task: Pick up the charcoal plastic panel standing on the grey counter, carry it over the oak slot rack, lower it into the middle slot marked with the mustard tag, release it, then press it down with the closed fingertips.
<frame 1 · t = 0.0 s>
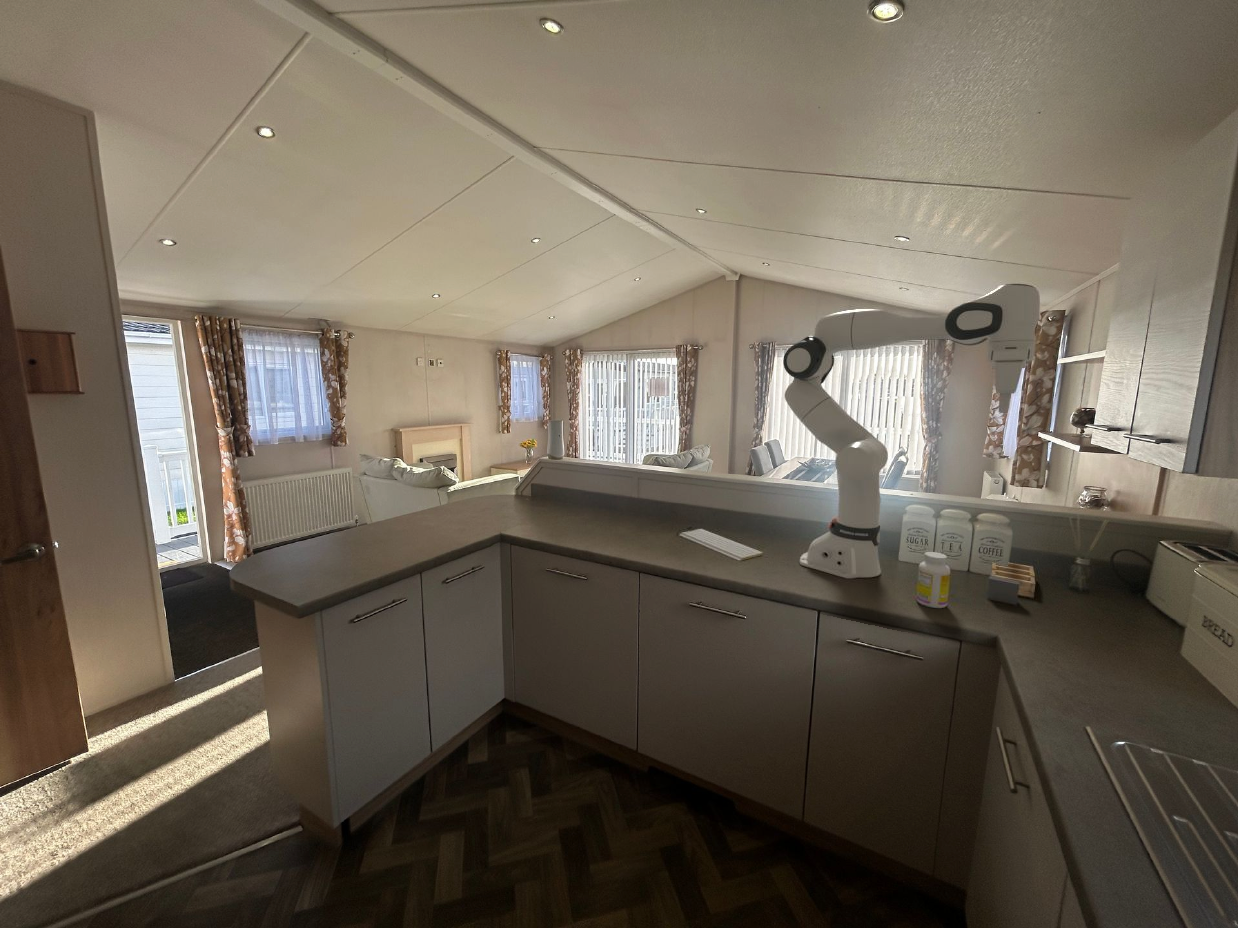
hand: (1003, 411, 119), 48 cm above the worktop, fingers open, 8 cm apart
white keyboard: (716, 547, 169), on the worktop
panel: (1001, 600, 125), on the worktop
supplement bottle: (930, 603, 123), on the worktop
rack: (1011, 582, 135), on the worktop
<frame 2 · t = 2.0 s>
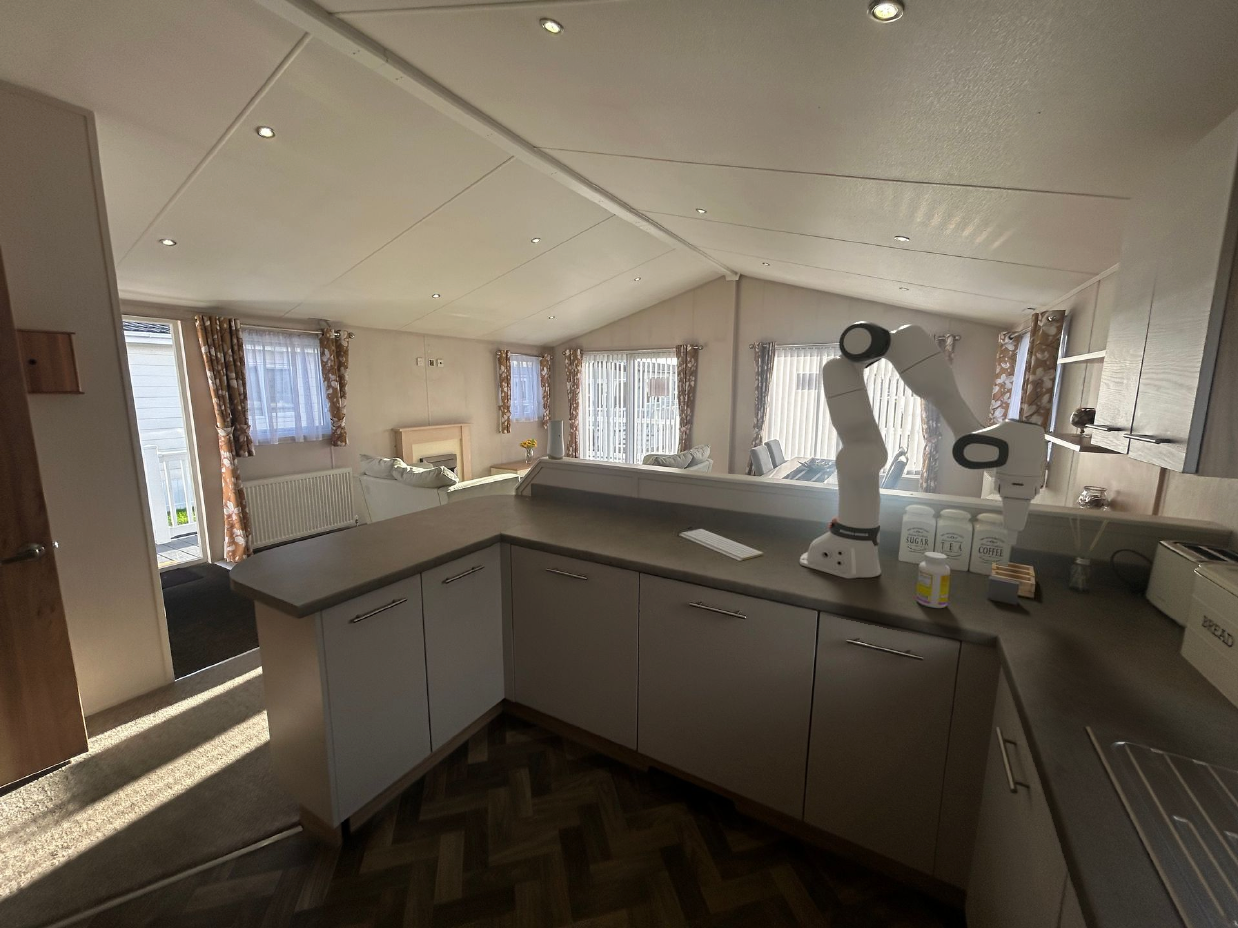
hand: (1011, 539, 122), 16 cm above the worktop, fingers open, 8 cm apart
nothing on the worktop moved.
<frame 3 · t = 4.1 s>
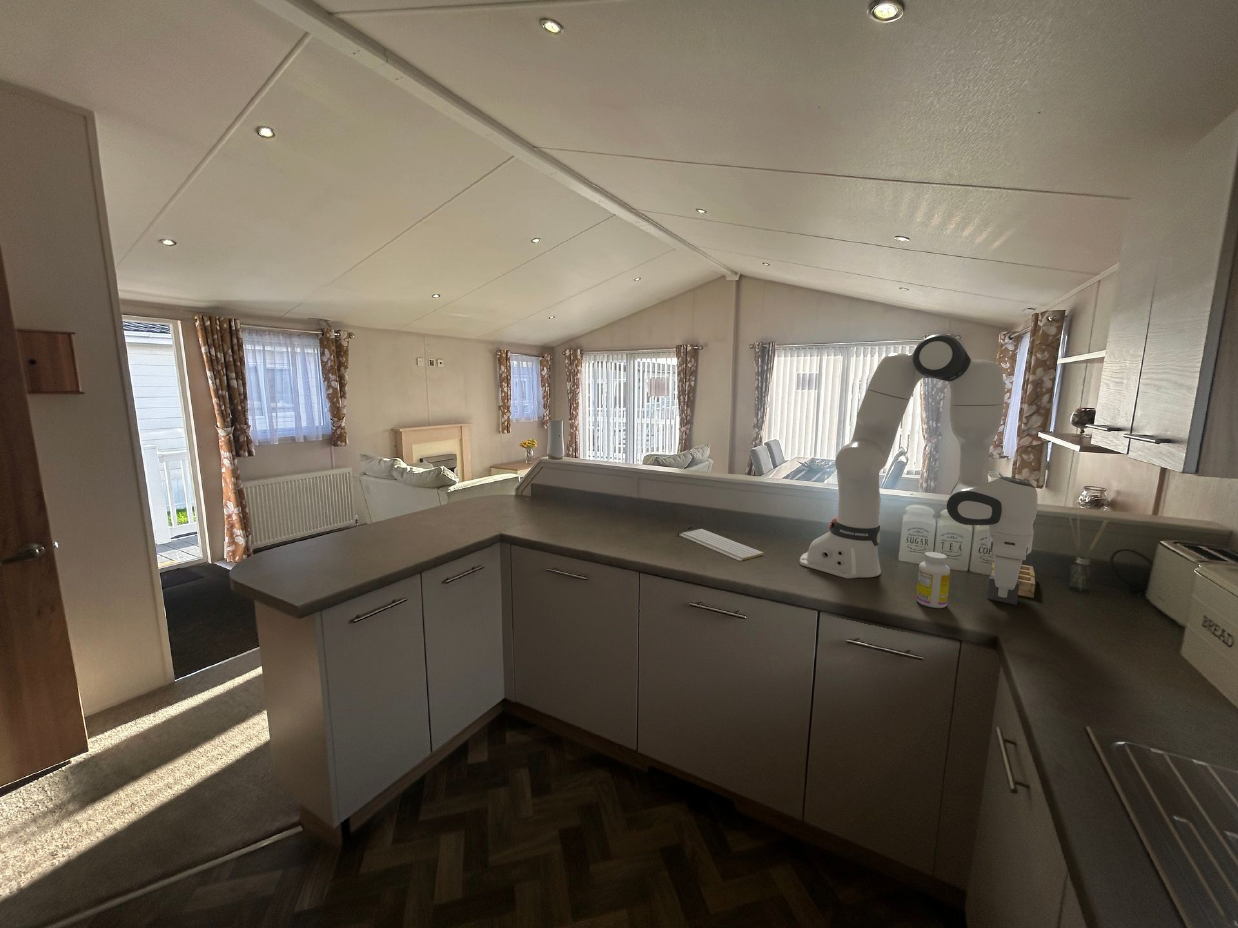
hand: (1002, 593, 124), 2 cm above the worktop, fingers closed on panel, 2 cm apart
panel: (1001, 599, 125), on the worktop, touching gripper
everything else where it was.
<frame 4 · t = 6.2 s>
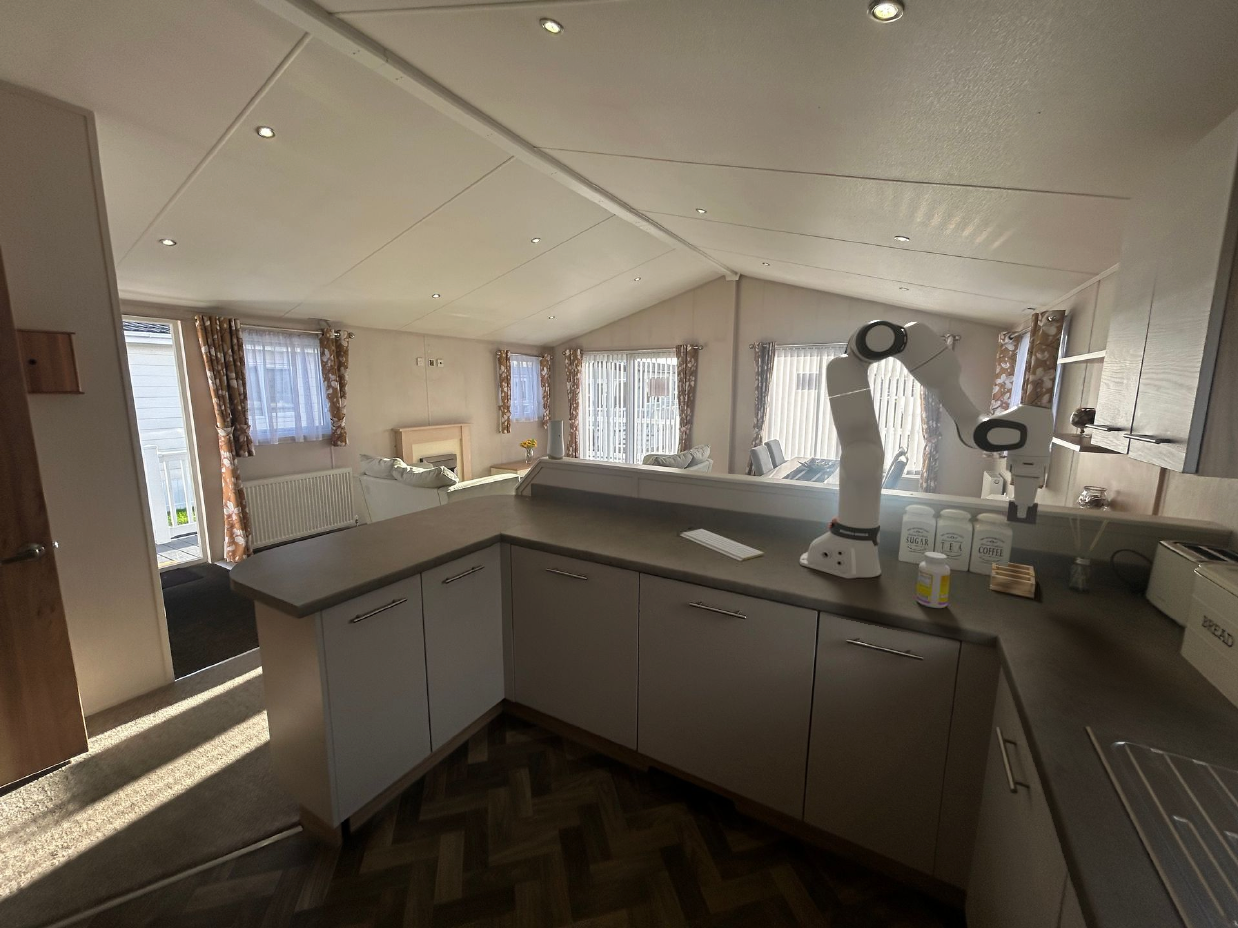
hand: (1021, 515, 131), 19 cm above the worktop, fingers closed on panel, 2 cm apart
panel: (1020, 521, 132), point 18 cm above the worktop, touching gripper
everything else where it was.
when the fingers open (4 cm above the worktop, at t = 8.5 s): panel drops 1 cm, resting on rack.
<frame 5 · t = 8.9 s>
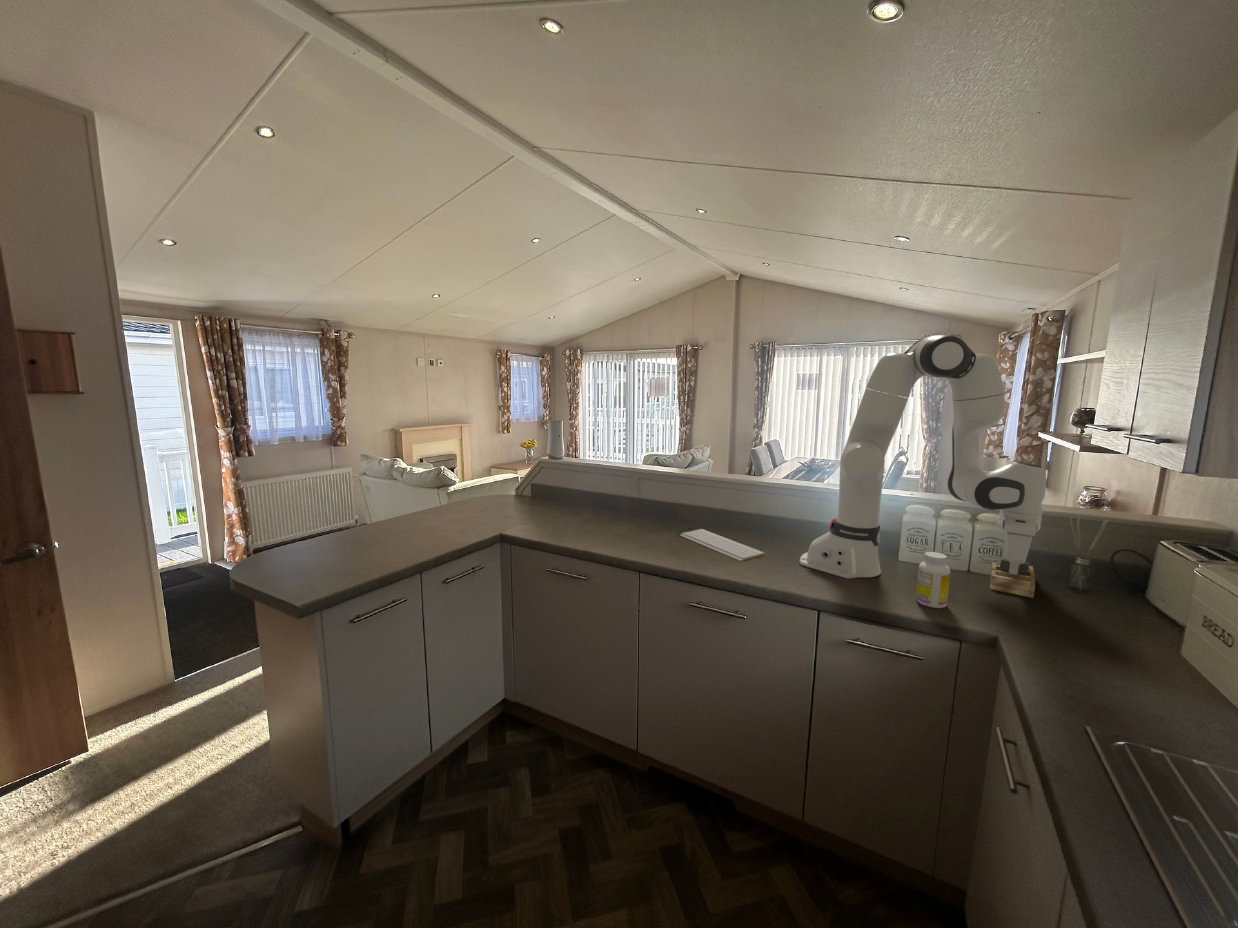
hand: (1013, 568, 134), 4 cm above the worktop, fingers open, 7 cm apart
panel: (1012, 579, 135), point 1 cm above the worktop, touching rack
everything else where it was.
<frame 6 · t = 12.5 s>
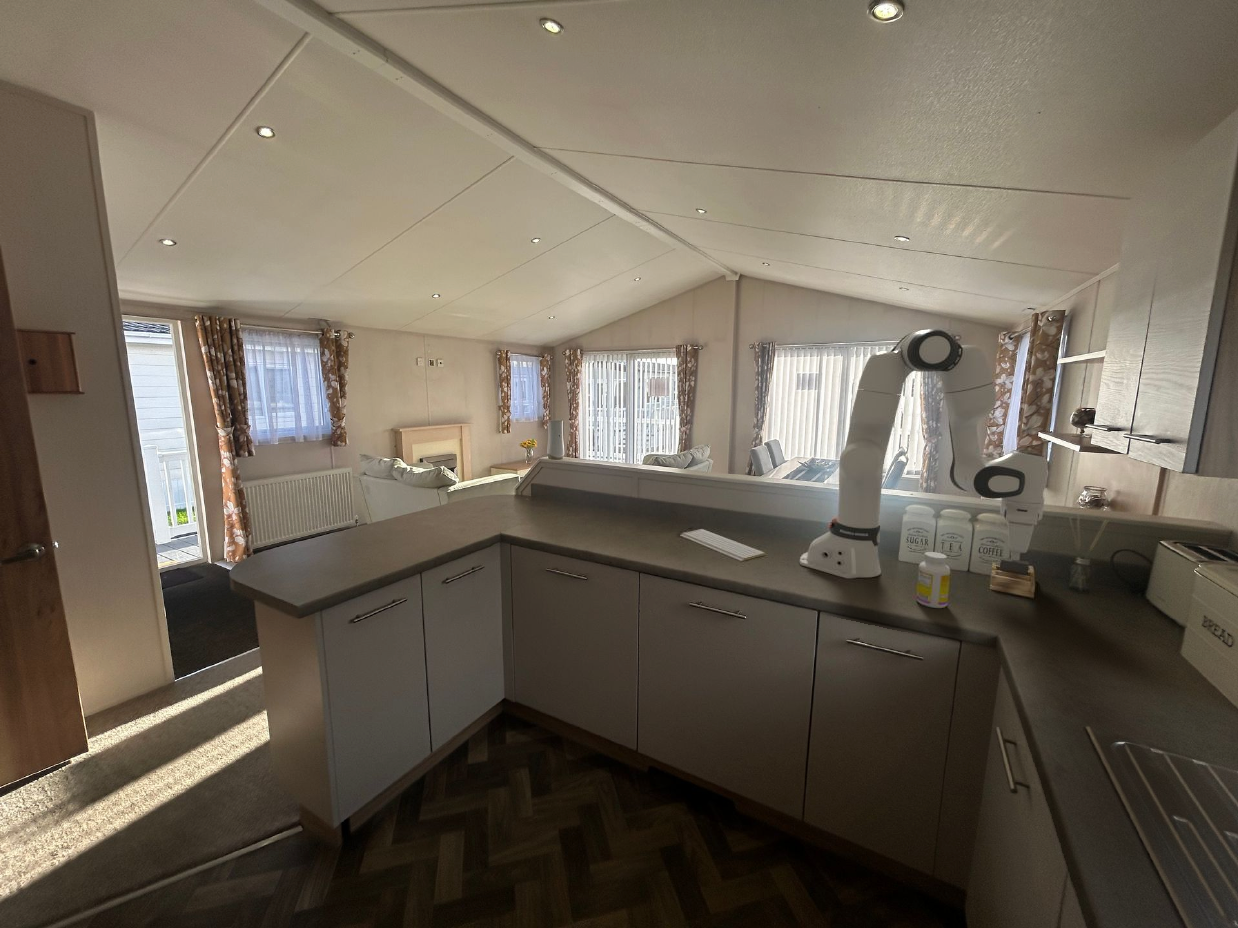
hand: (1014, 558, 134), 7 cm above the worktop, fingers closed
nothing on the worktop moved.
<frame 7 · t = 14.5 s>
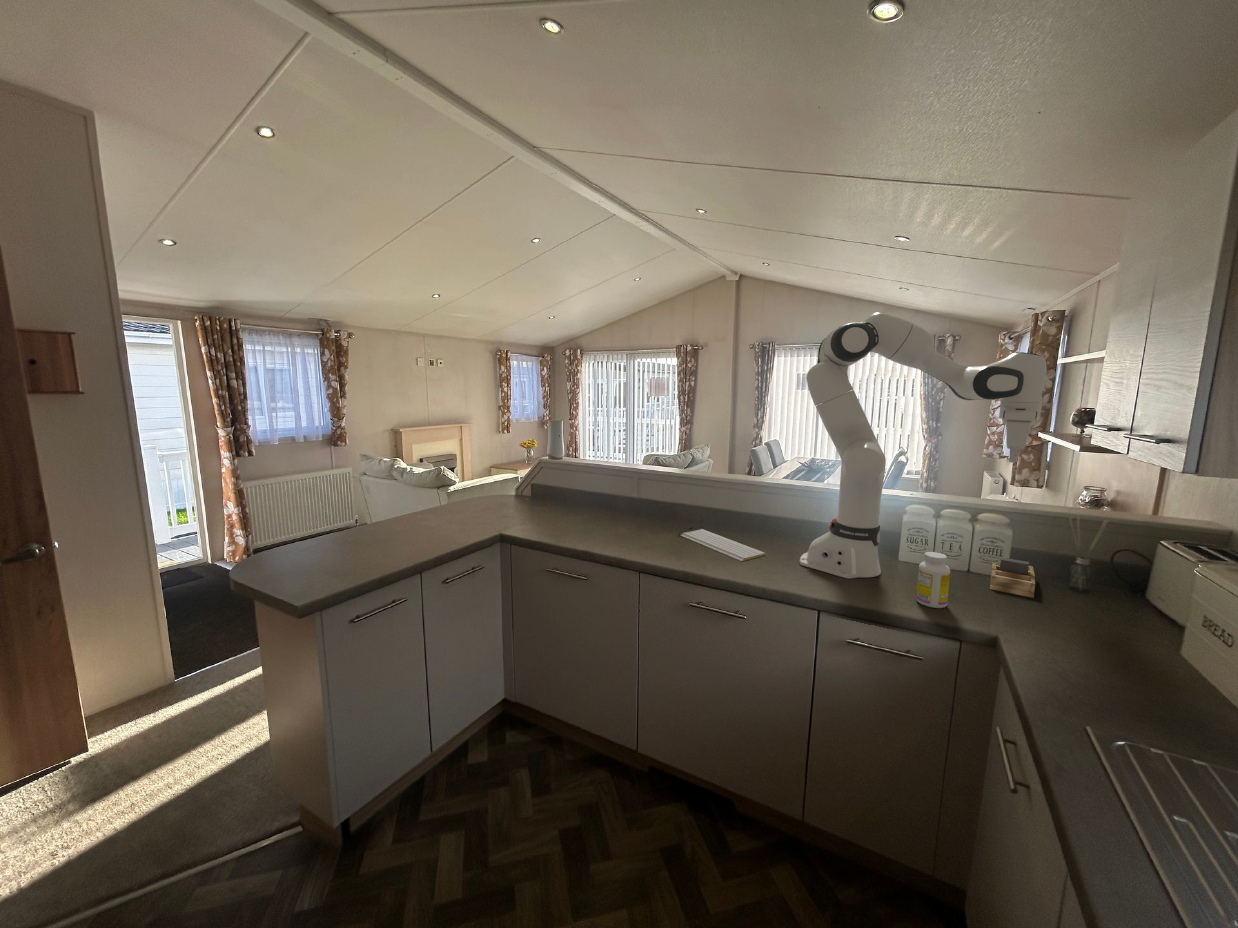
hand: (1012, 462, 137), 33 cm above the worktop, fingers closed
nothing on the worktop moved.
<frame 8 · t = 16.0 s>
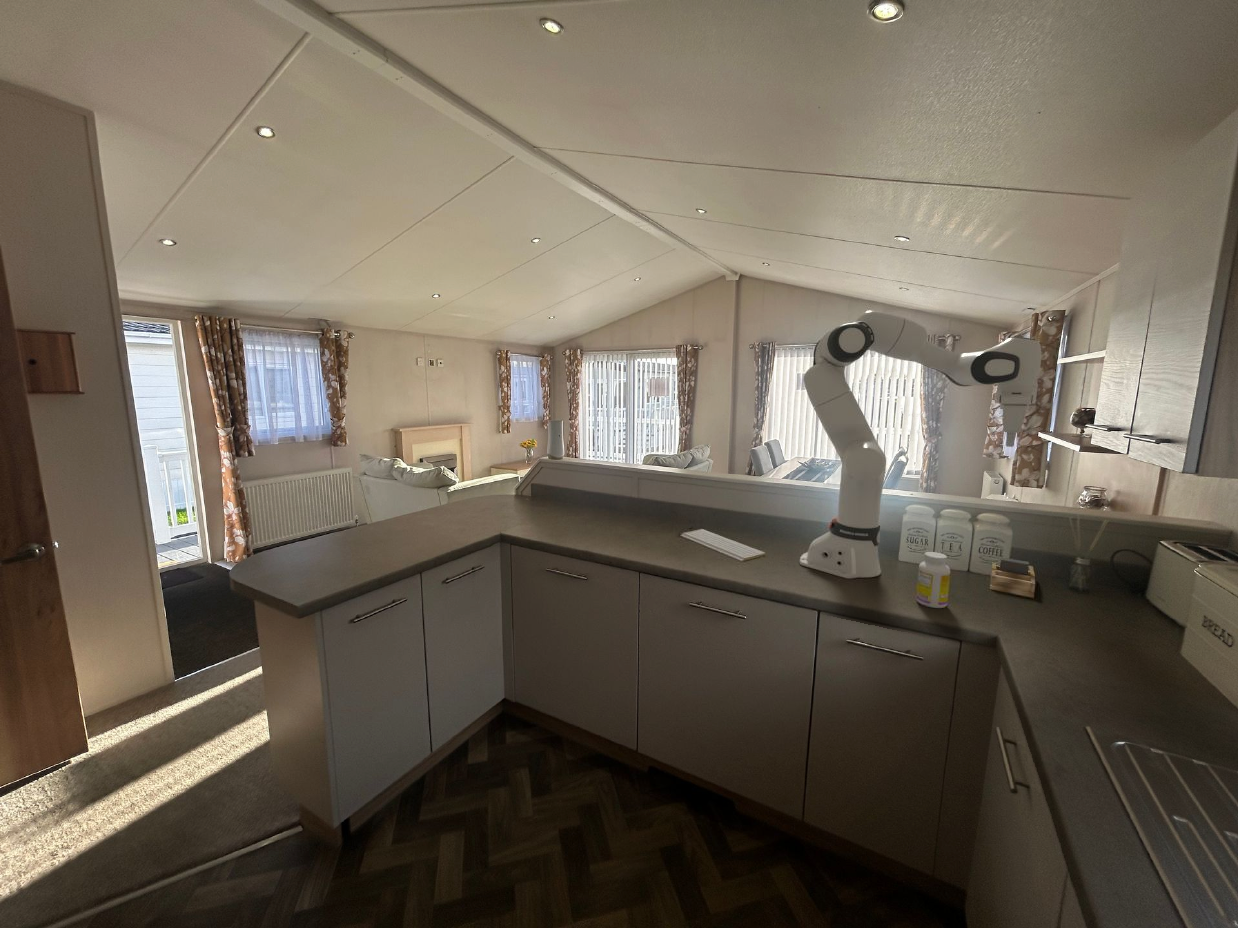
hand: (1009, 446, 138), 37 cm above the worktop, fingers closed
nothing on the worktop moved.
at the end: panel 0.1 cm off-centre on the rack, point 1.0 cm above the rack's base; panel tilted 0°; the gripper is holding nothing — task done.
